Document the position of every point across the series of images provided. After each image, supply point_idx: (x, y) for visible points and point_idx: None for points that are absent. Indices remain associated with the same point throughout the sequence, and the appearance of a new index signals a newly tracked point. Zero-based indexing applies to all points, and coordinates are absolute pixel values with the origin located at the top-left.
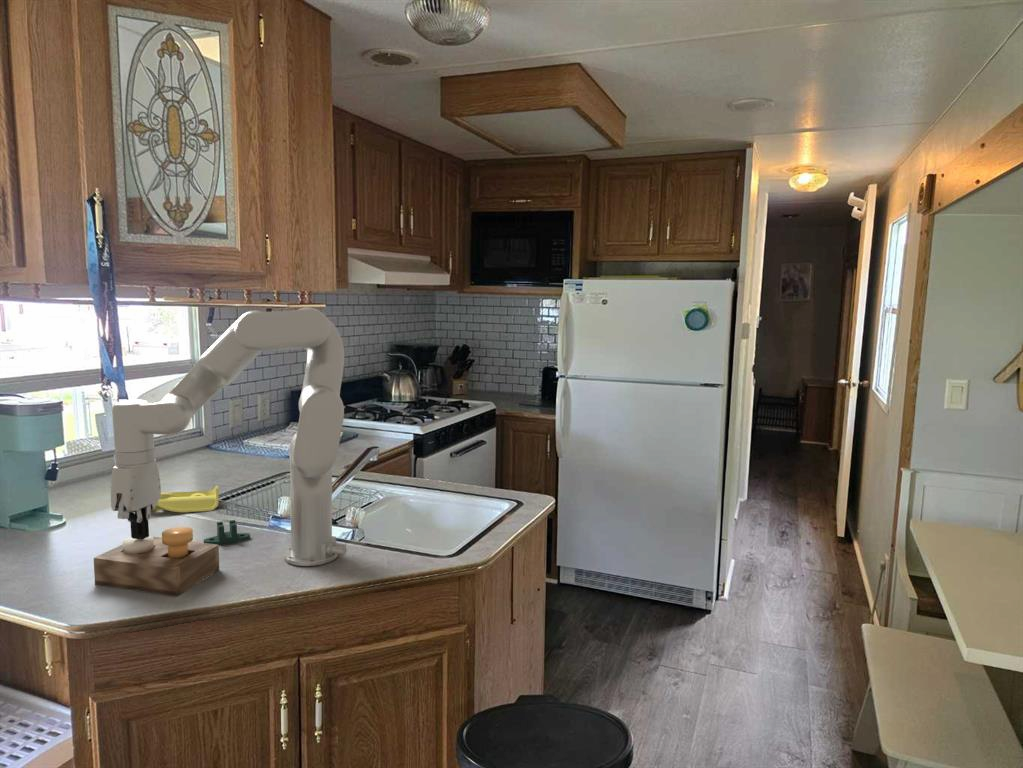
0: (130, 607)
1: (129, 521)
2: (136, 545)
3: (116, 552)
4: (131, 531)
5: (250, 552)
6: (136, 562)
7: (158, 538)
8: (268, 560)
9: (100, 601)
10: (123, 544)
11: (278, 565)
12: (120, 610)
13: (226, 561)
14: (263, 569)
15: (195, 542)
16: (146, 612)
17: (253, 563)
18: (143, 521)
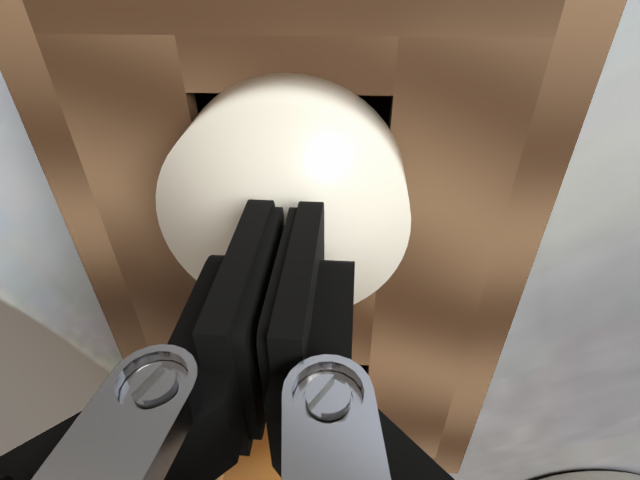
0: (59, 279)
1: (139, 365)
2: (194, 274)
3: (156, 78)
4: (232, 242)
5: (637, 385)
6: (115, 307)
7: (534, 188)
8: (545, 444)
9: (8, 147)
10: (164, 166)
11: (502, 470)
12: (23, 265)
13: (531, 354)
14: (465, 453)
15: (474, 401)
16: (71, 335)
17: (515, 422)
18: (242, 450)
